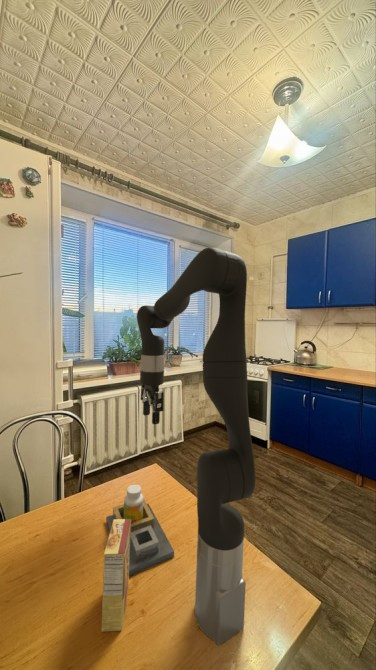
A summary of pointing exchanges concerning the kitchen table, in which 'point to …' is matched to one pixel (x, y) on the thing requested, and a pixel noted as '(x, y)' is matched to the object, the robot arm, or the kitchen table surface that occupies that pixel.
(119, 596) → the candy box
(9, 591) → the kitchen table surface
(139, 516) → the supplement bottle
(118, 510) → the fitting plate
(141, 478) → the kitchen table surface
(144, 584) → the kitchen table surface
